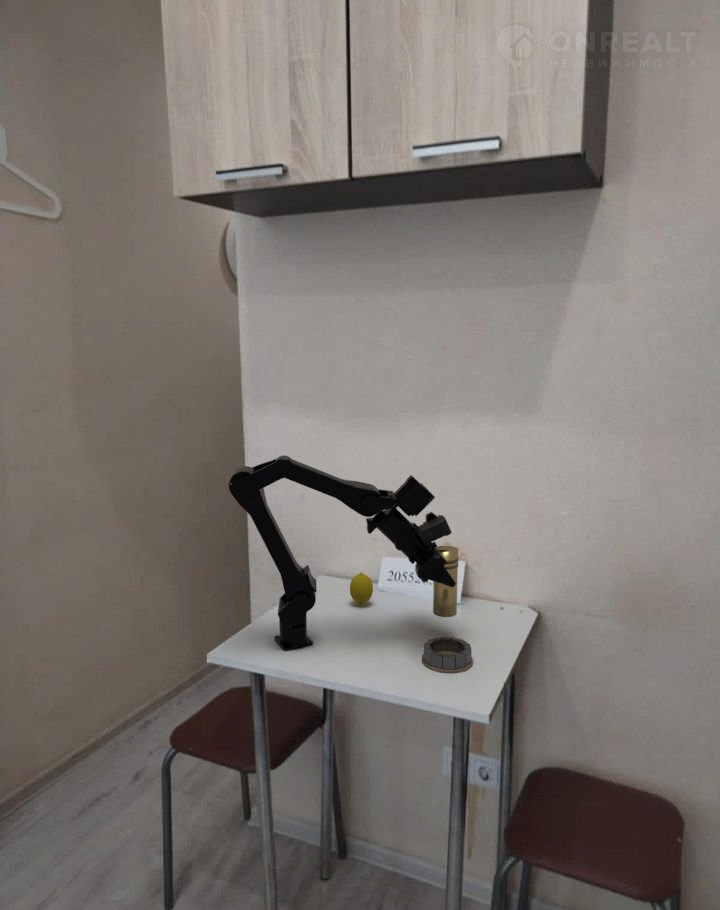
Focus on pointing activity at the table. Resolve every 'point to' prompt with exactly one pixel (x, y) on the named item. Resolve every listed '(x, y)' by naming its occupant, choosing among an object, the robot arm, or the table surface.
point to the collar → (447, 660)
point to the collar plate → (446, 670)
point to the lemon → (361, 588)
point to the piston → (442, 593)
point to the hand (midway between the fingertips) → (451, 581)
